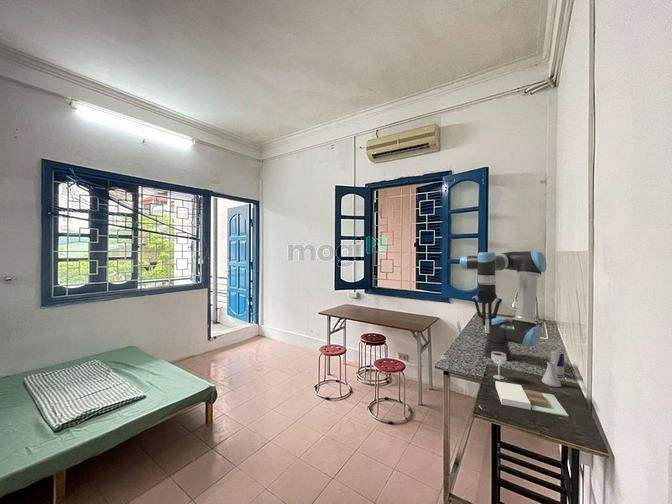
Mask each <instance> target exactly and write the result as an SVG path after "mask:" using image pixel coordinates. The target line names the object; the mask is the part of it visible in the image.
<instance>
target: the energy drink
mask: <svg viewBox="0 0 672 504" xmlns="http://www.w3.org/2000/svg"><path fill="white" fill-rule="evenodd" d="M550 362H553V363H555V364H556V365H555V370H556V374H557V376H558V378H564V377H565V353H564V352H563V350H562V351H561V350H557V349H551V350H550Z"/></svg>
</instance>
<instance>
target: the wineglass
mask: <svg viewBox="0 0 672 504" xmlns="http://www.w3.org/2000/svg"><path fill="white" fill-rule="evenodd" d="M491 353H492V355H491V358H490V359H491V361H493V362H494V363H495V364H496V365H497V371H498V374H494V375H493V376H492V377H493V378H494V379H497V380H500V379H504V378H505V377H504V376H502V375H500V370H501V368H500V367H501V365H504V364H505V363H507V361H508V360H507V358H506V354H505V353H503V352H499V351H492V352H491ZM504 380H505V379H504Z"/></svg>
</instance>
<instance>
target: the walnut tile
mask: <svg viewBox="0 0 672 504" xmlns="http://www.w3.org/2000/svg"><path fill="white" fill-rule="evenodd" d="M523 390H524V392H525V394H526V396H527V398H528V399H529V401H530V403H531V405H535V406H540V407H545V408H548V403H547V401H546V399H545V398H544V396H543V395H542V393H543V392H541V391H536V390H530V389H525V388H523Z"/></svg>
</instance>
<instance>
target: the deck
mask: <svg viewBox="0 0 672 504" xmlns="http://www.w3.org/2000/svg"><path fill="white" fill-rule="evenodd" d="M495 388H496V392H497V395H498V398H499V400H500V401H499V402H500V403H501V405H502V406H507V407H514V408H520V409H524V410H532V409H531V403H530V401H529V399H528V398H527V396H526V394H525V392H524V388H523V387H522V385H521V384H516V383H512V382H510V383H509V382H504V381H497V380H495Z"/></svg>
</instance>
